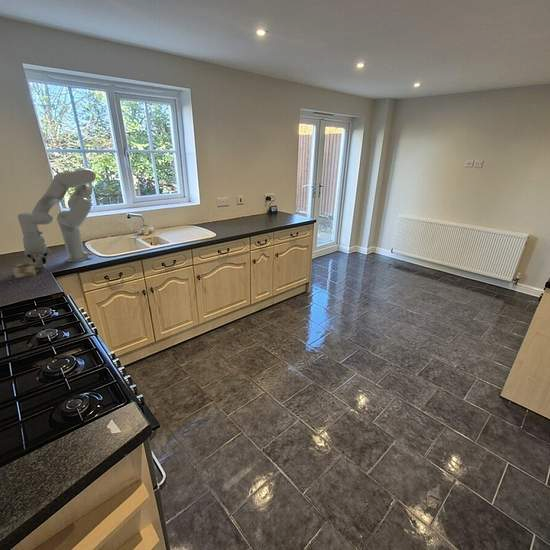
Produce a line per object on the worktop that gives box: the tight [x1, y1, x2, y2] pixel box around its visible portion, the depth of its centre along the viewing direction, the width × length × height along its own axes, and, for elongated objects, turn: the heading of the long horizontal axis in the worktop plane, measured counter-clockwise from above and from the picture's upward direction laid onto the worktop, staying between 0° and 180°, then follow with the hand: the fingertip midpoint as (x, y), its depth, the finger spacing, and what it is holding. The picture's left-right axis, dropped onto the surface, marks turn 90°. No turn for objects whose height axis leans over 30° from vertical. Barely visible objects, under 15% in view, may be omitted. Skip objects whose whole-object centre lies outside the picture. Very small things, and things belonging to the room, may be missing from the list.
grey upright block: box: [33, 253, 46, 267], centre depth 180 cm, size 3×6×9 cm, turn 27°
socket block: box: [12, 262, 46, 279], centre depth 171 cm, size 13×9×5 cm
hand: (40, 263), depth 181 cm, fingers closed on grey upright block, 3 cm apart
